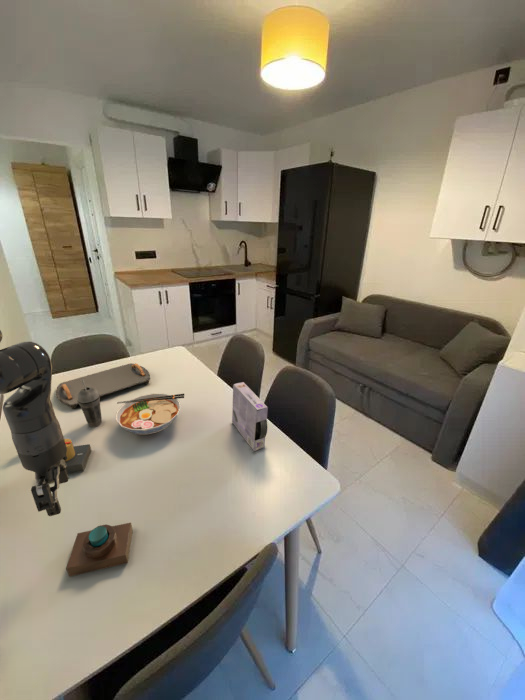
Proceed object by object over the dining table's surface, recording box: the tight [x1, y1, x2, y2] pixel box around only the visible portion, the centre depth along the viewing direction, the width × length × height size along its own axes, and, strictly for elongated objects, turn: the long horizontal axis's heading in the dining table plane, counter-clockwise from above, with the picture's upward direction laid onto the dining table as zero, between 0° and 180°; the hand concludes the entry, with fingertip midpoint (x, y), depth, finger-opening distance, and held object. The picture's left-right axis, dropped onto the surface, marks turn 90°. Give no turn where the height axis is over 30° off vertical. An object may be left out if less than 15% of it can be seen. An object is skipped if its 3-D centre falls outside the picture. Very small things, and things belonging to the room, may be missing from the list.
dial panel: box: [65, 443, 92, 475], centre depth 92 cm, size 11×9×3 cm
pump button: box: [89, 525, 108, 547], centre depth 66 cm, size 4×4×2 cm
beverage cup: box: [77, 379, 103, 428], centre depth 107 cm, size 7×7×20 cm
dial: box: [64, 438, 75, 461], centre depth 91 cm, size 5×5×5 cm
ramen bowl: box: [115, 393, 185, 436], centre depth 109 cm, size 25×23×8 cm
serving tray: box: [55, 363, 151, 410], centre depth 134 cm, size 39×23×6 cm, turn 133°
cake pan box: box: [231, 381, 269, 452], centre depth 104 cm, size 19×5×18 cm, turn 31°
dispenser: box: [65, 522, 134, 578], centre depth 68 cm, size 12×8×5 cm, turn 104°
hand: (59, 497), depth 64 cm, fingers open, 8 cm apart
